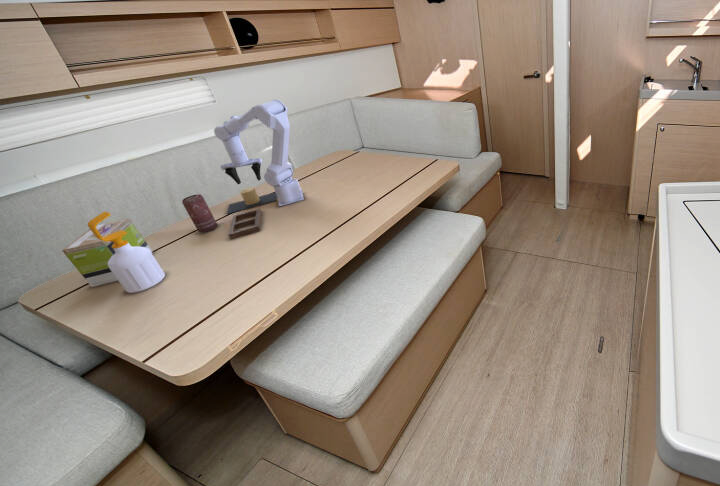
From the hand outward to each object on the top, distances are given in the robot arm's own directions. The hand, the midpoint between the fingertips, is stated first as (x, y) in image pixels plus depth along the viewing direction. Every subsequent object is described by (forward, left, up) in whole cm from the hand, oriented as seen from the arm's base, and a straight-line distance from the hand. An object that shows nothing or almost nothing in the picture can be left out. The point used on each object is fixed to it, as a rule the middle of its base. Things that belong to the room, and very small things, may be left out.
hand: (249, 181), depth 153 cm
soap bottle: (+28, +46, -10) cm, 54 cm away
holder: (+3, +24, -9) cm, 26 cm away
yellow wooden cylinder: (+2, +2, -9) cm, 9 cm away
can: (+16, +17, -10) cm, 25 cm away
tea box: (+37, +31, -10) cm, 49 cm away
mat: (+2, +2, -9) cm, 10 cm away
